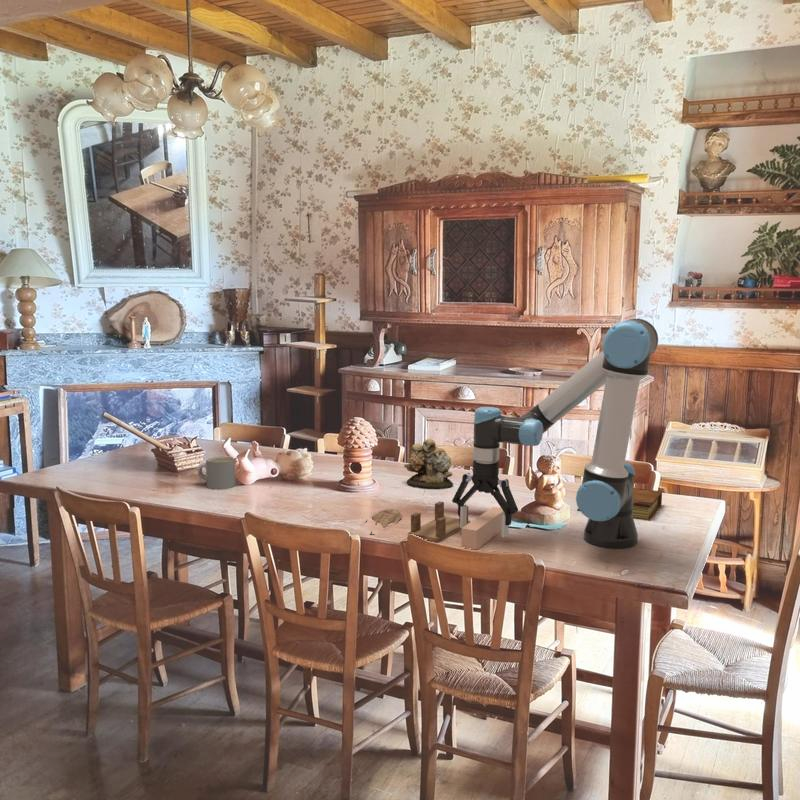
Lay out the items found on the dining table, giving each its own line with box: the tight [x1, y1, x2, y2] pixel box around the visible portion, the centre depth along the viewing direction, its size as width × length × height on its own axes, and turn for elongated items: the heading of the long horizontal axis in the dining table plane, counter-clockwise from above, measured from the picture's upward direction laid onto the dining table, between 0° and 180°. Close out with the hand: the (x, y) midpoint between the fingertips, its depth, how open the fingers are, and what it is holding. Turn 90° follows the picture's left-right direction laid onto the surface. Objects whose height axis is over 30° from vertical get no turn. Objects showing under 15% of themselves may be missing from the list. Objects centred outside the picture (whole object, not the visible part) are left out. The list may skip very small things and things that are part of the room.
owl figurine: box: [403, 438, 454, 490], centre depth 302 cm, size 18×12×17 cm, turn 75°
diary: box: [576, 487, 663, 522], centre depth 274 cm, size 23×19×6 cm
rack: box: [407, 501, 471, 543], centre depth 251 cm, size 10×20×6 cm, turn 147°
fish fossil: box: [370, 508, 402, 529], centre depth 259 cm, size 26×10×1 cm, turn 168°
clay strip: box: [460, 506, 505, 550], centre depth 245 cm, size 4×24×6 cm, turn 152°
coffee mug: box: [197, 455, 236, 491], centre depth 302 cm, size 13×10×10 cm
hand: (483, 531), depth 245 cm, fingers open, 13 cm apart
